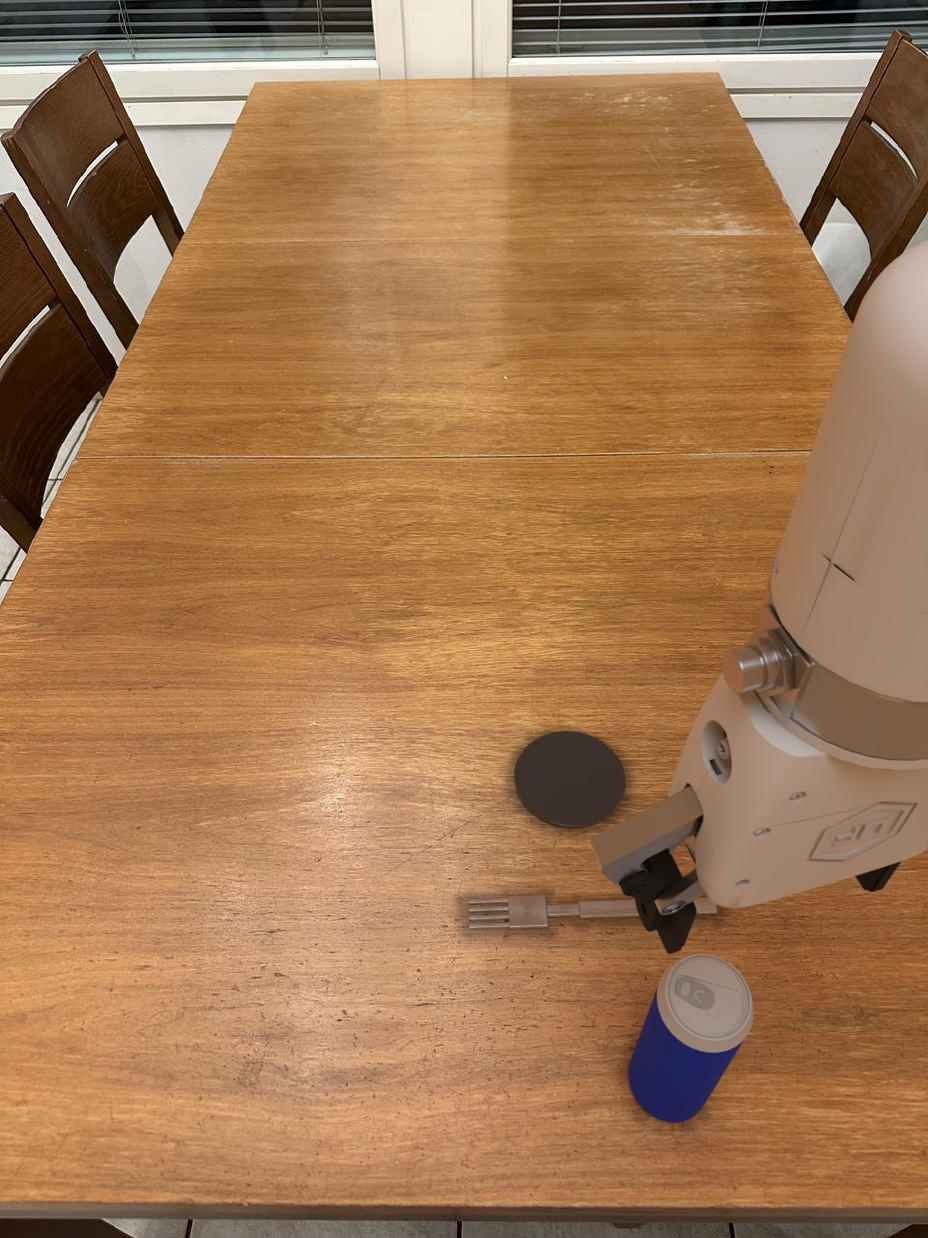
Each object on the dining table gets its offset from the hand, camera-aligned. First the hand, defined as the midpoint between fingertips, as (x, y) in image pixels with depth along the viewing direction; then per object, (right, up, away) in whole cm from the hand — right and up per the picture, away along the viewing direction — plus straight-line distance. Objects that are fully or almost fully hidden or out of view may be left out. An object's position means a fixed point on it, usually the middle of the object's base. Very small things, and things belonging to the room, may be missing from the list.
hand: (759, 891), depth 42 cm
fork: (-4, -9, +27) cm, 29 cm away
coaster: (-5, -1, +34) cm, 35 cm away
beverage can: (0, -18, +19) cm, 26 cm away
